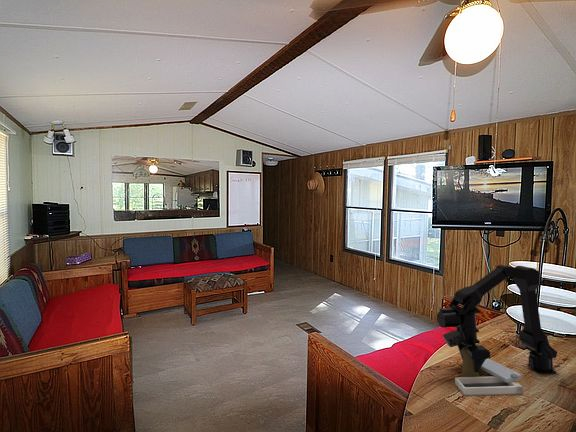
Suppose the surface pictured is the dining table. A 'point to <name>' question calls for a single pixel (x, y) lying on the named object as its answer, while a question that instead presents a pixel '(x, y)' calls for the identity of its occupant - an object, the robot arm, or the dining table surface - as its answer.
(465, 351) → the olive brown bulbous cylinder
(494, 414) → the dining table surface
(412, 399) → the dining table surface
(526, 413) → the dining table surface
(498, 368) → the cover
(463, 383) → the white tray with rod
